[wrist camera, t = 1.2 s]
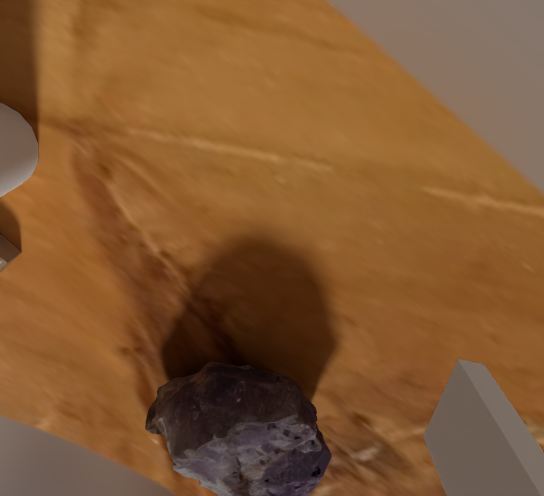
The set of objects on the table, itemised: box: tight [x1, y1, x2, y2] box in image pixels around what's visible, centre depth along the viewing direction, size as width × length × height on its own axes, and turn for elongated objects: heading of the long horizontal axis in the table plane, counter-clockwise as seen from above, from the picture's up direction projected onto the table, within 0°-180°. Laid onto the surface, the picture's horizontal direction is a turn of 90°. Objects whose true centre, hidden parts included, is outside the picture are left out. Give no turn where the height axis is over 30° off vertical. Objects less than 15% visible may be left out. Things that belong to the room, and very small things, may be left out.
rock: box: [145, 362, 332, 496], centre depth 36 cm, size 12×9×10 cm
